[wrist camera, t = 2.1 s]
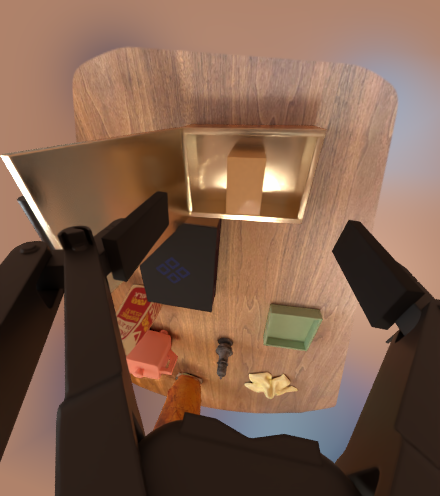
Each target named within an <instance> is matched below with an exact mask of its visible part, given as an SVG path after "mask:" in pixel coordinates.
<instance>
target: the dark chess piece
mask: <svg viewBox="0 0 440 496" xmlns="http://www.w3.org/2000/svg"><path fill="white" fill-rule="evenodd" d="M218 343H219V345H218V347H217V349H216V353H217V354H218V355H219V360H218V362H217V364H218V369H217V374H218V376H220V380H221V379H222V377H224V376H225V375H226V368H227V366H228V363H227V362H228V357H229V356H231V355H232V354H233V352H232V348H231V346H232V344H233V342H232V341H231V340H230V339H227V338H221V339H219V340H218Z"/></svg>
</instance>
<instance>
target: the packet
mask: <svg viewBox="0 0 440 496" xmlns="http://www.w3.org/2000/svg"><path fill="white" fill-rule="evenodd" d="M266 160H267V158H266V153H265V148H264V146H250V145H234V146H233V148H232V150H231V151H230V153H229V155H228V157H227V189H226V214H237V215H252V216H259V215H260V207H261V199H262V191H263V183H264V176H265V168H266Z"/></svg>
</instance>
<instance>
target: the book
mask: <svg viewBox="0 0 440 496" xmlns="http://www.w3.org/2000/svg"><path fill="white" fill-rule="evenodd" d="M220 229H221V218H206V217H192V216H189V218H188V219H187V220H186V221H185V222H184V223H183V224H182V225H181V226H180V227H179V228H178V229H177V230H176V231H175V232H174V233H173V234H172V235H171V236H170V237H169V238H168V239H167V240H166V241H165V242H164V243H162V244H161V245H160V246H159V247H158V248H157V249H156V250H155V251H154V252H153V253H152V254H151V255H150V256H149V257H148V258H147V259H146V260H145V261H144V262H143V263H142V264H141V265H140V270H141V274H142V279H143V283H144V288H145V292H146V297H147V301H148V302H153V303H159V304H165V305H171V306H177V307H183V308H189V309H195V310H201V311H207V312H212V306H213V301H214V297H215V293H216V280H217V267H218V254H219V242H220Z"/></svg>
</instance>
